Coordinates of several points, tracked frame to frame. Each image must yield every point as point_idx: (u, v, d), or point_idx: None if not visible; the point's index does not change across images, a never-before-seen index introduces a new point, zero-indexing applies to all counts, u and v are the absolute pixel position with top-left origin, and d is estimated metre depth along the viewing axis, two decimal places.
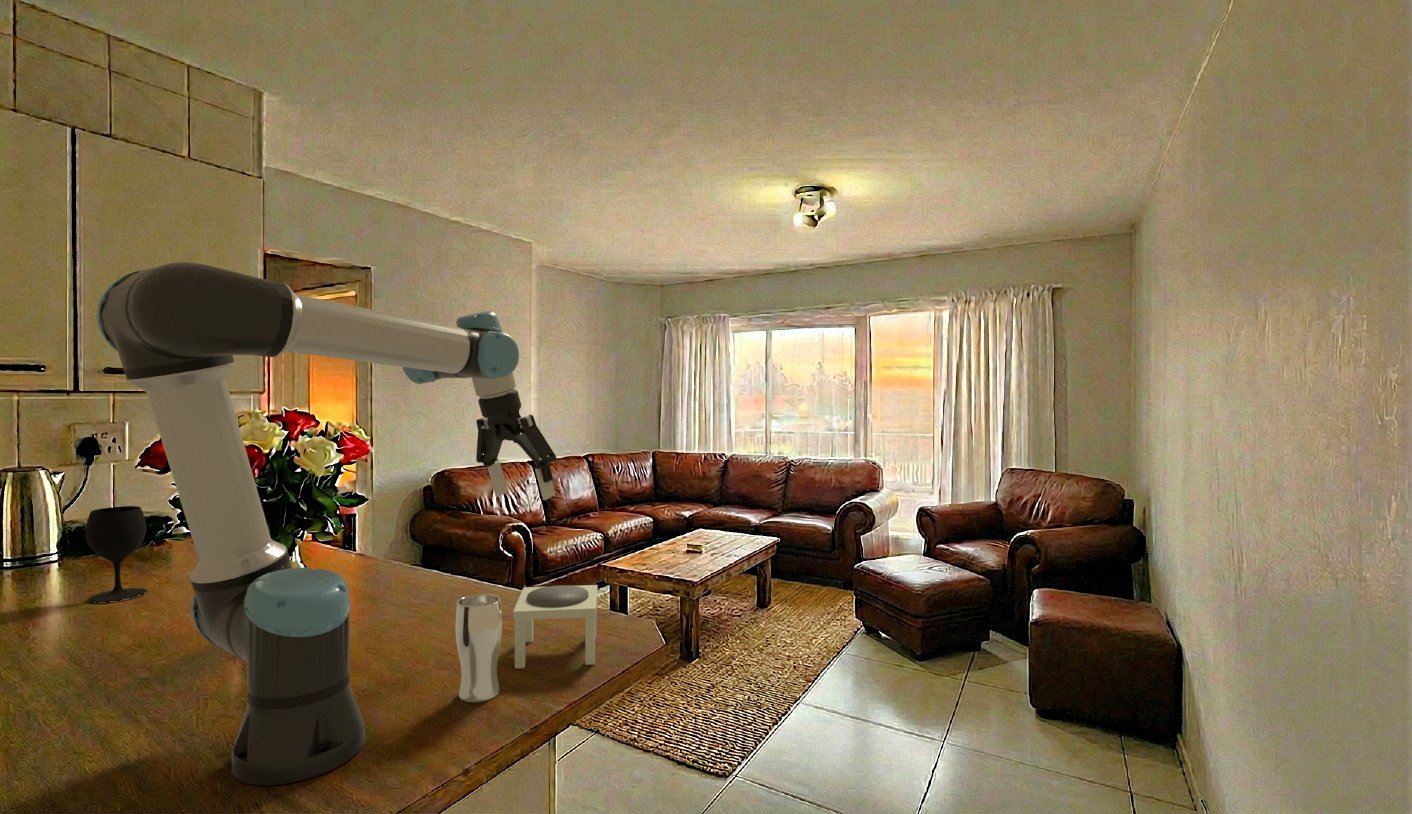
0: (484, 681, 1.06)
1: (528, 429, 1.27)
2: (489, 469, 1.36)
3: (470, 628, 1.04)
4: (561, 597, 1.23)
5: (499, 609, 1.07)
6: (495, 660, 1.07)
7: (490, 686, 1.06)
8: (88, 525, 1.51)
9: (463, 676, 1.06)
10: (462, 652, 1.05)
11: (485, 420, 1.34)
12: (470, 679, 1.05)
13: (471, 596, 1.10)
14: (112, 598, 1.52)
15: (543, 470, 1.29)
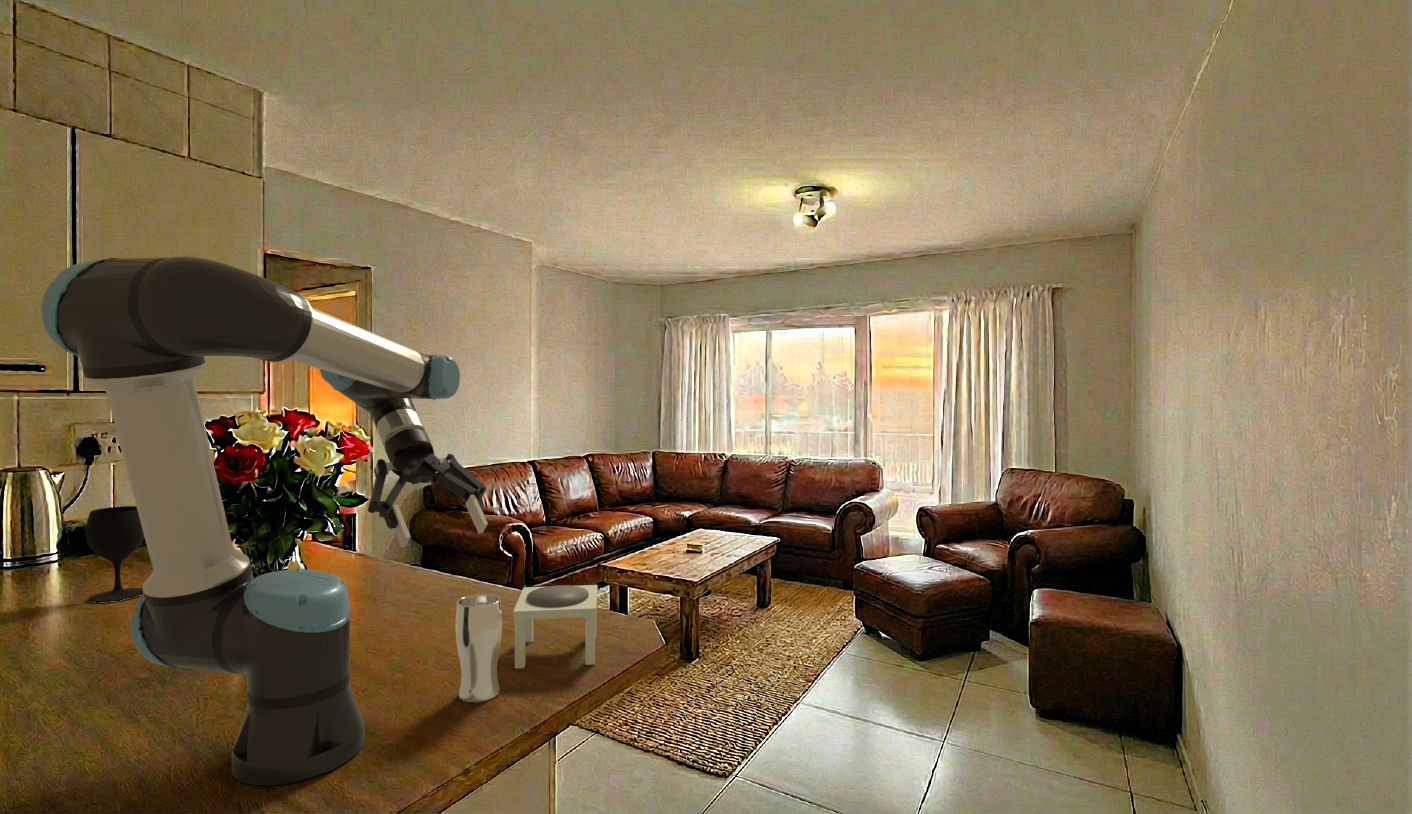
0: (484, 681, 1.06)
1: None
2: (397, 507, 1.11)
3: (470, 628, 1.04)
4: (561, 597, 1.23)
5: (499, 609, 1.07)
6: (495, 660, 1.07)
7: (490, 686, 1.06)
8: (88, 525, 1.51)
9: (463, 676, 1.06)
10: (462, 652, 1.05)
11: (387, 463, 1.18)
12: (470, 679, 1.05)
13: (471, 596, 1.10)
14: (112, 598, 1.52)
15: (477, 499, 1.22)
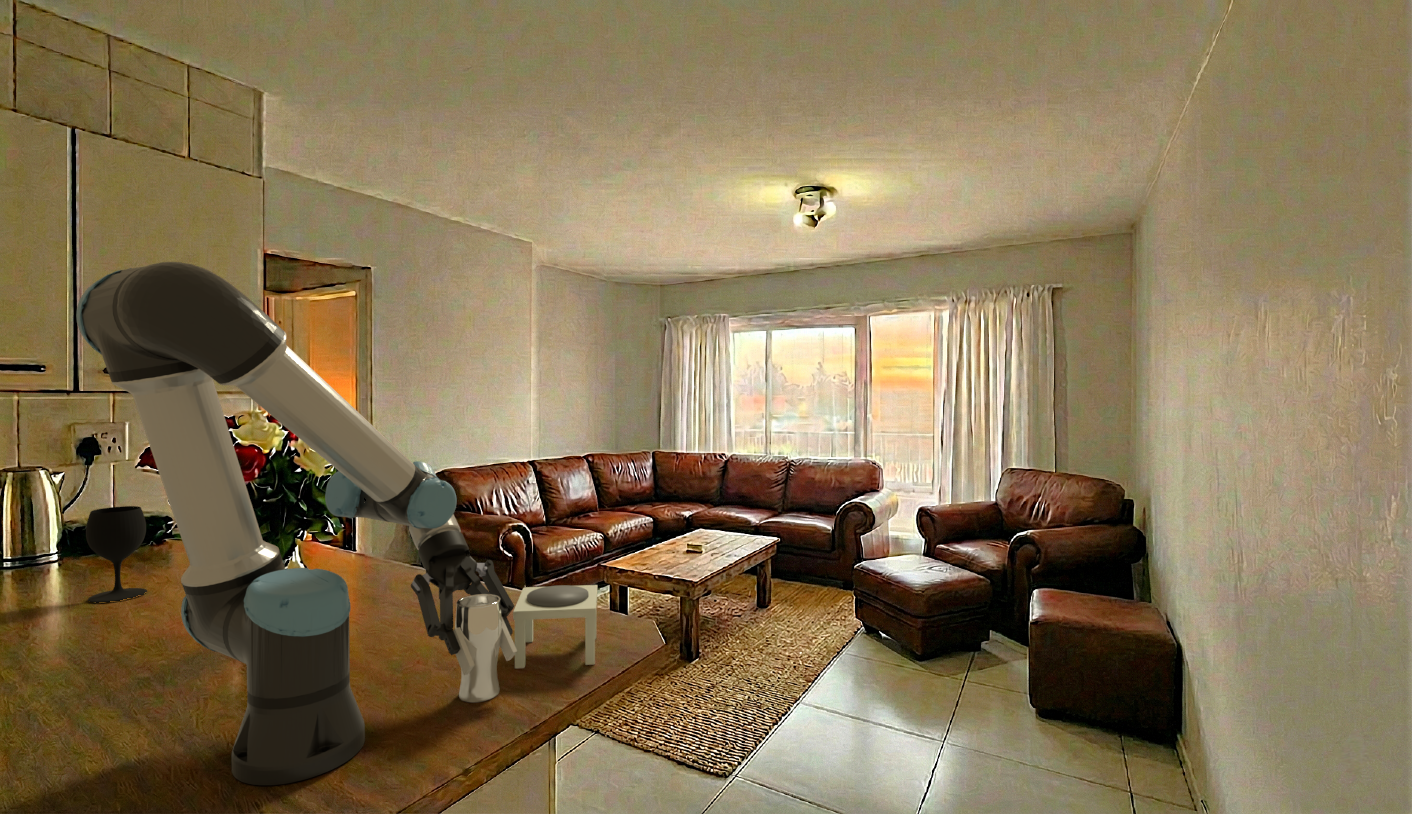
0: (484, 681, 1.06)
1: None
2: (458, 631, 1.05)
3: (470, 628, 1.04)
4: (561, 597, 1.23)
5: (499, 609, 1.07)
6: (495, 660, 1.07)
7: (490, 686, 1.06)
8: (88, 525, 1.51)
9: (463, 676, 1.06)
10: None
11: (423, 575, 1.09)
12: (470, 679, 1.05)
13: (471, 596, 1.10)
14: (112, 598, 1.52)
15: (505, 620, 1.11)
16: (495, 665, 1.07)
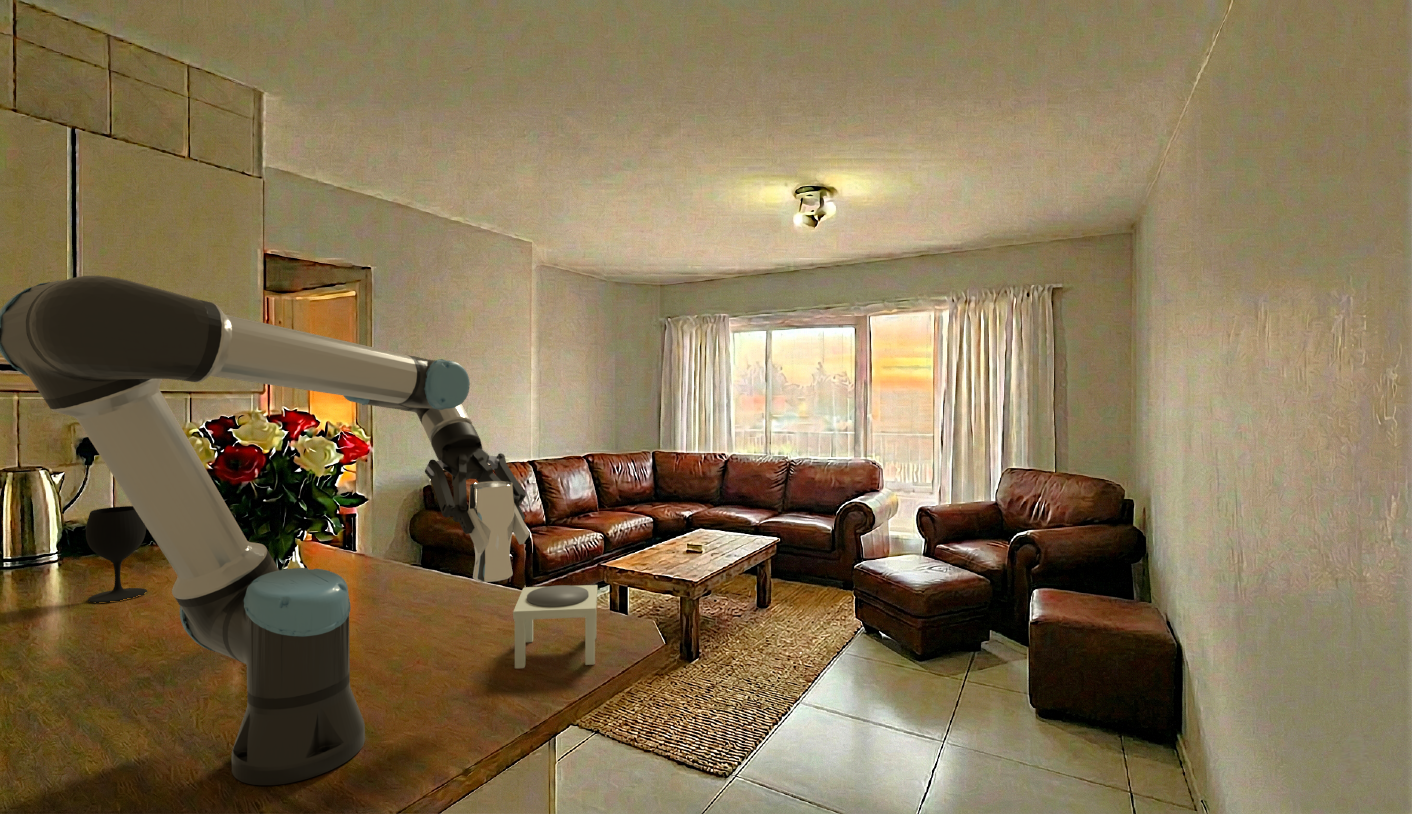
0: (498, 561, 1.08)
1: None
2: (472, 511, 1.07)
3: (483, 508, 1.06)
4: (561, 597, 1.23)
5: (511, 493, 1.09)
6: (508, 542, 1.09)
7: (503, 567, 1.08)
8: (88, 525, 1.51)
9: (477, 557, 1.08)
10: None
11: (436, 462, 1.11)
12: (484, 559, 1.07)
13: (484, 482, 1.12)
14: (112, 598, 1.52)
15: (517, 507, 1.13)
16: (508, 548, 1.09)
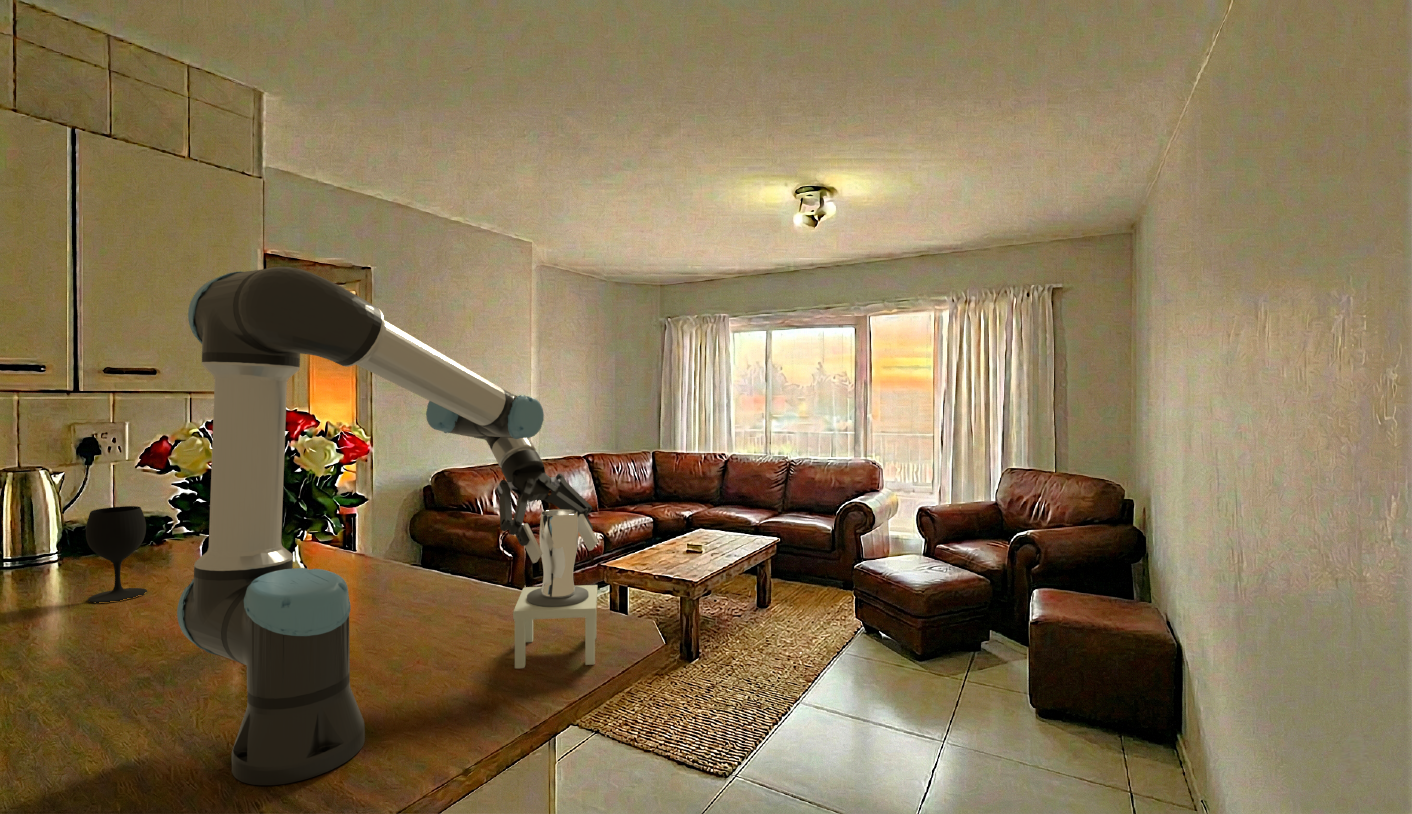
0: (564, 581, 1.23)
1: None
2: (527, 526, 1.20)
3: (554, 533, 1.21)
4: None
5: (577, 520, 1.25)
6: (573, 564, 1.24)
7: (568, 585, 1.23)
8: (88, 525, 1.51)
9: (546, 576, 1.23)
10: (546, 555, 1.22)
11: (507, 483, 1.26)
12: (552, 578, 1.22)
13: (551, 510, 1.27)
14: (112, 598, 1.52)
15: (586, 518, 1.30)
16: (572, 569, 1.25)
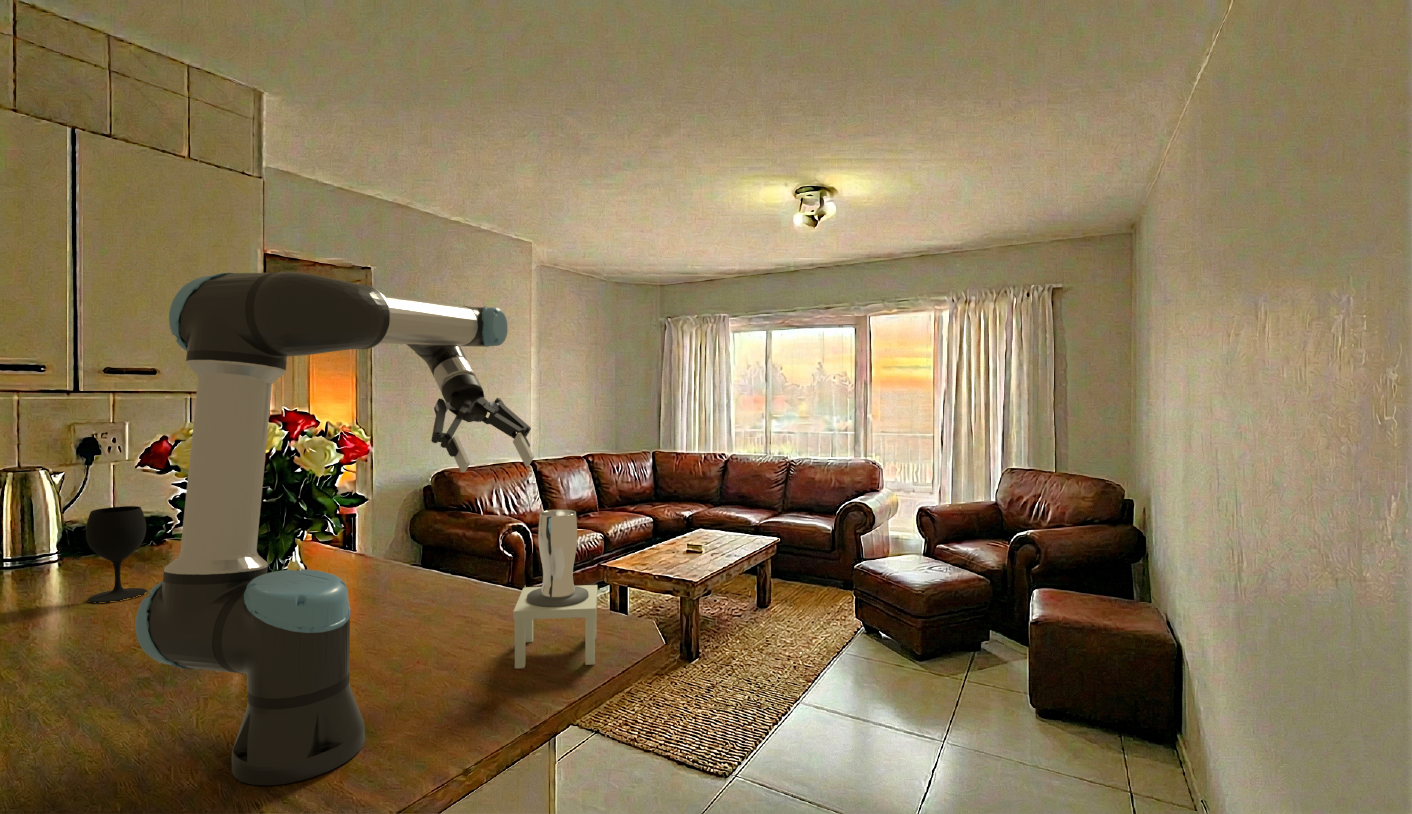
0: (563, 581, 1.23)
1: None
2: (457, 438, 1.27)
3: (552, 534, 1.21)
4: None
5: (575, 520, 1.24)
6: (572, 564, 1.24)
7: (568, 586, 1.23)
8: (88, 525, 1.51)
9: (545, 577, 1.23)
10: (545, 555, 1.22)
11: (445, 402, 1.33)
12: (552, 579, 1.22)
13: (550, 511, 1.27)
14: (112, 598, 1.52)
15: (523, 437, 1.38)
16: (572, 569, 1.25)
